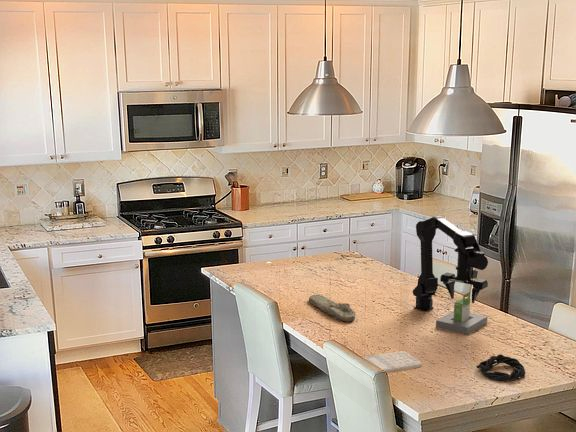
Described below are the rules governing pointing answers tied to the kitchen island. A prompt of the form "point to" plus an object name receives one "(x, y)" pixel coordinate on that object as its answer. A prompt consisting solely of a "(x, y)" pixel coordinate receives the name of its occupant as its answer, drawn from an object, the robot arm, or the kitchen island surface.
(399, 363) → the calculator
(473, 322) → the pocket plate
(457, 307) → the ink box
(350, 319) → the long grey stone
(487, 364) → the cable
